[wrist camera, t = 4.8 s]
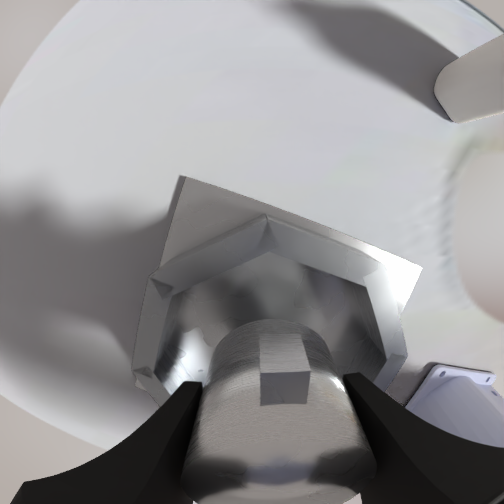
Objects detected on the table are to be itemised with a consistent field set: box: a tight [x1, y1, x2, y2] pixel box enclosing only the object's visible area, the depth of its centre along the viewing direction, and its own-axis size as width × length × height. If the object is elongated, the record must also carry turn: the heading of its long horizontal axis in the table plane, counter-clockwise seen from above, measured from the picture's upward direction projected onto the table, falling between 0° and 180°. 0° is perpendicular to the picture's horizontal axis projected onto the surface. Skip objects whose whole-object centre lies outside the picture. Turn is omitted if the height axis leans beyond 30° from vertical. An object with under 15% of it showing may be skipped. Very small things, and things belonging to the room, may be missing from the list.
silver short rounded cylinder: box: [181, 319, 377, 504], centre depth 7 cm, size 6×5×6 cm
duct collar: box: [131, 177, 422, 407], centre depth 12 cm, size 12×12×3 cm
